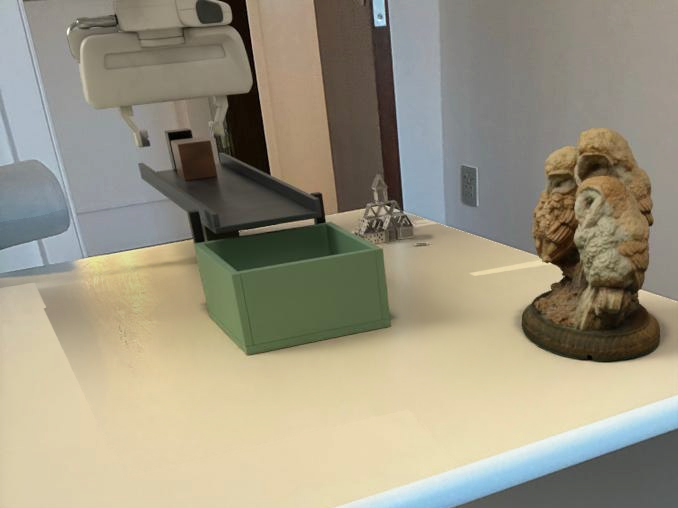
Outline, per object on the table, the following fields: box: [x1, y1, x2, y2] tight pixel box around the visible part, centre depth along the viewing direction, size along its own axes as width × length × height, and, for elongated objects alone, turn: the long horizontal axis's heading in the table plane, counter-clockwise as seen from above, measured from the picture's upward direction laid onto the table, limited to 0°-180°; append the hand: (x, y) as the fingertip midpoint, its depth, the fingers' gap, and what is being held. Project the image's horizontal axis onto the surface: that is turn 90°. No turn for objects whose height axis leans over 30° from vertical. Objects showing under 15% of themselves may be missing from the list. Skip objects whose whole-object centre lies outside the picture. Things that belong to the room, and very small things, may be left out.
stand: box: [186, 191, 327, 309], centre depth 108 cm, size 14×21×10 cm, turn 27°
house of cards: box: [352, 173, 429, 247], centre depth 120 cm, size 9×9×8 cm
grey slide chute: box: [137, 127, 322, 234], centre depth 108 cm, size 11×38×5 cm, turn 27°
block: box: [171, 136, 217, 181], centre depth 117 cm, size 4×4×4 cm
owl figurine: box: [521, 126, 661, 362], centre depth 85 cm, size 18×12×17 cm, turn 21°
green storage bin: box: [193, 221, 392, 356], centre depth 95 cm, size 15×15×7 cm
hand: (181, 142), depth 121 cm, fingers open, 8 cm apart
